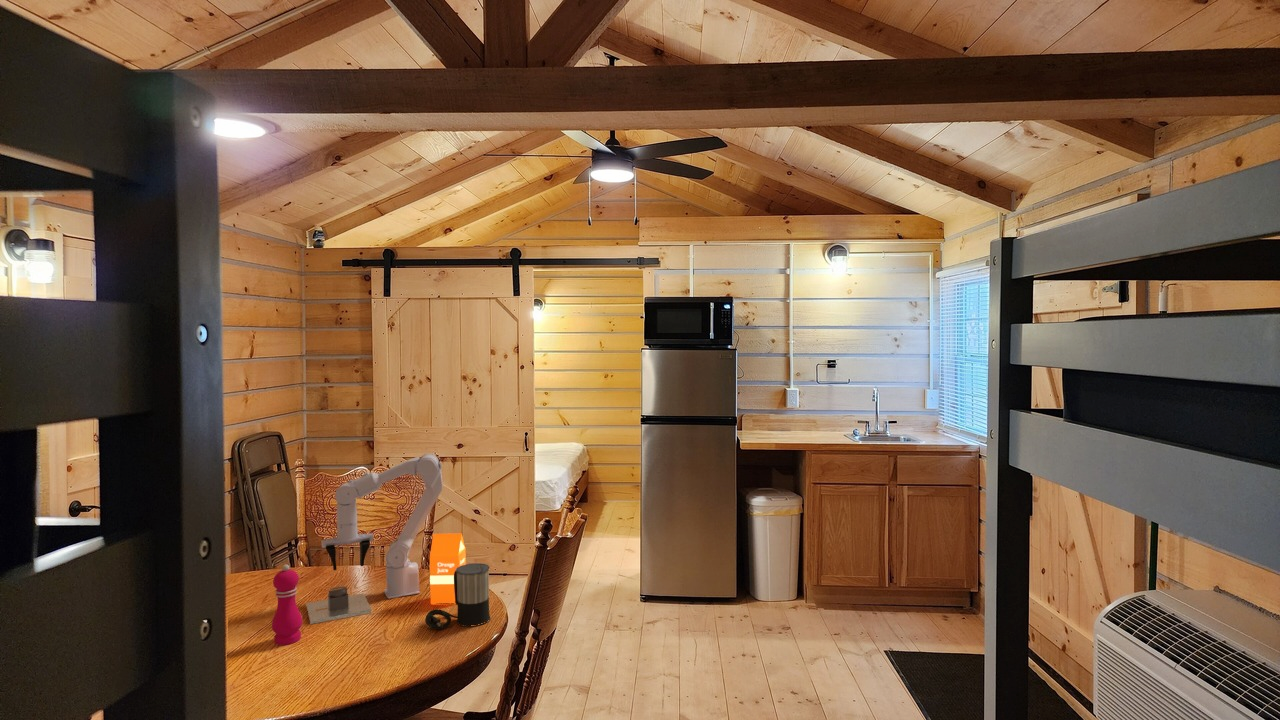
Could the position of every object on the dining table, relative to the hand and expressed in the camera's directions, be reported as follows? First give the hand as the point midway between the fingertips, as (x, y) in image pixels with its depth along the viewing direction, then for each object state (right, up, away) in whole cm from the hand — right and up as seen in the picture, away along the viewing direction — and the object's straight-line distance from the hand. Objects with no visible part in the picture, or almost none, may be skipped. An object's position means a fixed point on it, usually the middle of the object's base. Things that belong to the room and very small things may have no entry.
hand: (348, 567), depth 216 cm
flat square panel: (+1, -10, -10) cm, 14 cm away
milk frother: (+39, -9, -22) cm, 46 cm away
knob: (+1, -9, -10) cm, 13 cm away
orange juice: (+32, -9, -3) cm, 33 cm away
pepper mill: (-3, -10, -31) cm, 33 cm away
